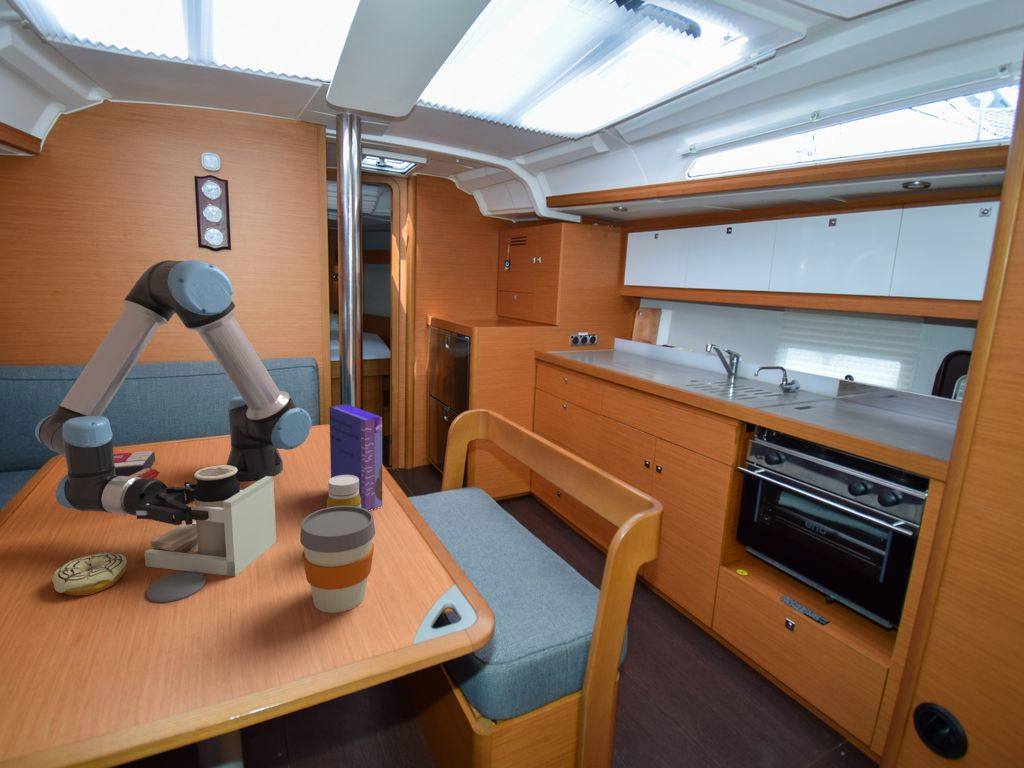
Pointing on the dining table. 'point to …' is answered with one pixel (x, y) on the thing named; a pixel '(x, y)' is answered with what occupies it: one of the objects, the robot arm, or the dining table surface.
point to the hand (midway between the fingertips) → (240, 506)
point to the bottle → (344, 491)
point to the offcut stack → (177, 540)
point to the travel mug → (214, 505)
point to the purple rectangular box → (357, 450)
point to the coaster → (176, 587)
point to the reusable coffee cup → (338, 556)
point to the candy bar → (146, 473)
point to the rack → (231, 535)
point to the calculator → (132, 462)
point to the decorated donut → (89, 574)
